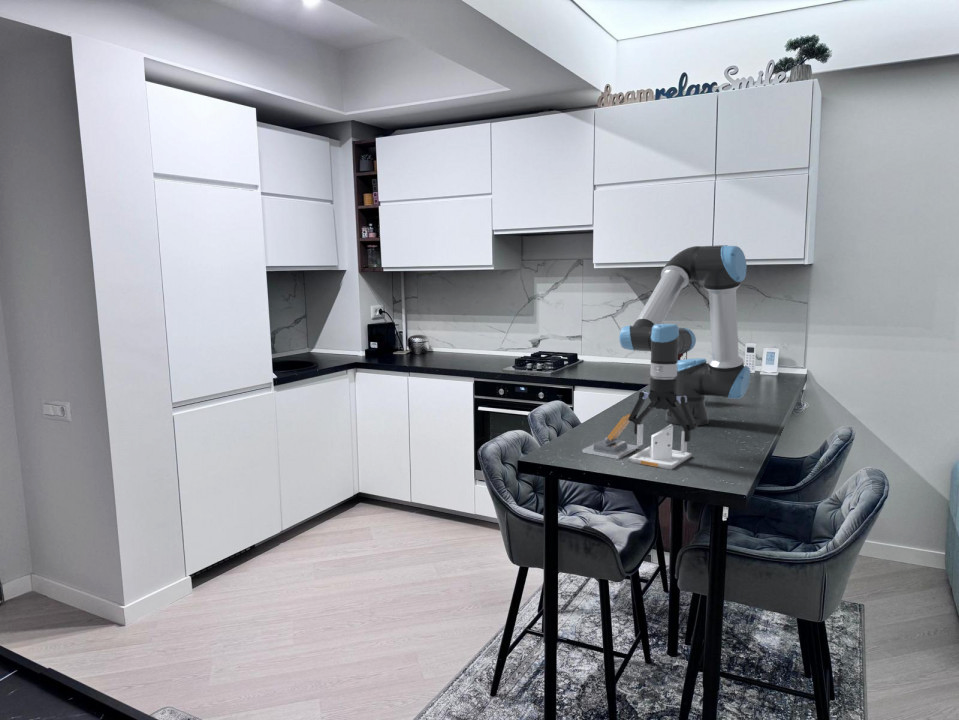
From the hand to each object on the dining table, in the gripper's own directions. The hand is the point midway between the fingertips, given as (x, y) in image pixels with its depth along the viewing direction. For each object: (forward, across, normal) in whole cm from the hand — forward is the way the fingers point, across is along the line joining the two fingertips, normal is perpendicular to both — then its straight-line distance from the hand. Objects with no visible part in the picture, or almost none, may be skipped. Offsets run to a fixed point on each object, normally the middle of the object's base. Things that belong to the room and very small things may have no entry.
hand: (661, 448), depth 196 cm
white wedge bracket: (+3, 0, 0) cm, 3 cm away
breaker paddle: (0, -16, 0) cm, 16 cm away
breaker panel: (+3, -16, 0) cm, 17 cm away
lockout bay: (+3, 0, 0) cm, 3 cm away
